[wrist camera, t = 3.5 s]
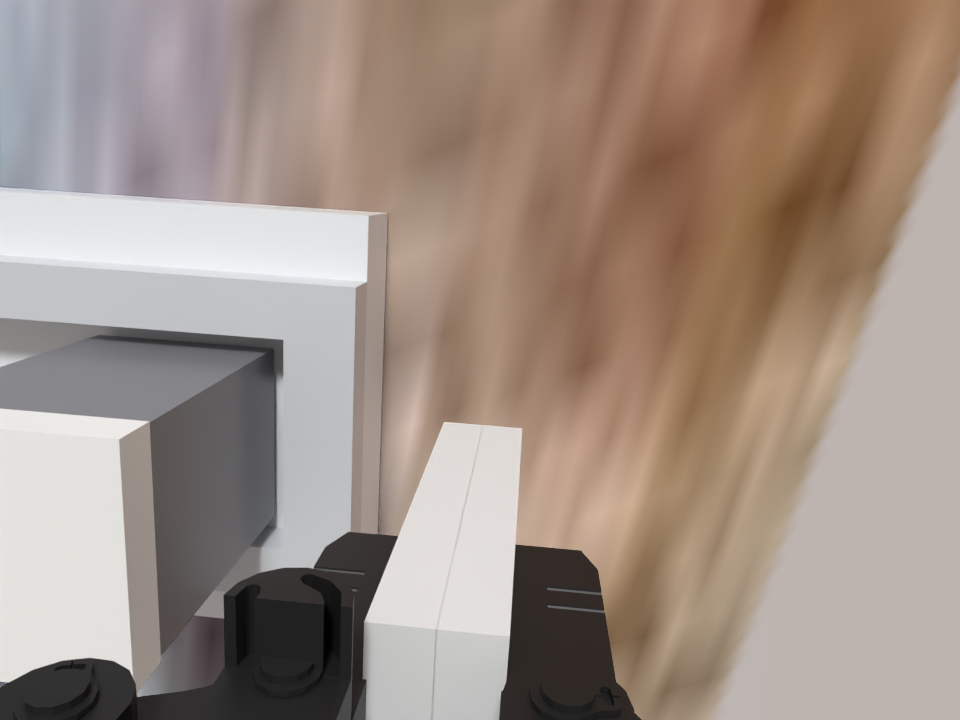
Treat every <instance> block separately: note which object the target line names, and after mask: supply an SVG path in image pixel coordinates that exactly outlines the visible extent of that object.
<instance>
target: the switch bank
mask: <svg viewBox="0 0 960 720" xmlns="http://www.w3.org/2000/svg"><path fill="white" fill-rule="evenodd" d="M387 221H388V213H379V212H364V211H349V210H334V209H319V208H304V207H289V206H274V205H259V204H244V203H229V202H214V201H198V200H183V199H168V198H153V197H138V196H123V195H108V194H93V193H78V192H63V191H48V190H33V189H18V188H3V187H0V367H2V366H5V365H8V364H11V363H14V362H17V361H20V360H23V359H26V358H29V357H32V356H35V355H38V354H42V353H45V352H48V351H51V350H54V349H57V348H60V347H63V346H66V345H69V344H72V343H75V342H78V341H81V340H85V339H88V338H91V337H94V336H97V335H108V336H121V337H133V338H146V339H159V340H172V341H184V342H197V343H210V344H222V345H235V346H248V347H261V348H273V349H274V497H275V516H274V517H273V518H272V519H271V521H270V522H269V523H268V524H267V525H266V527H265V528H264V529H263V530H262V532H261V533H260V534H259V535H258V537H257V538H256V539H255V540H254V542H253V543H252V544H251V545H250V546H249V548H248V549H247V550H246V551H245V553H244V554H243V555H242V556H241V558H240V559H239V560H238V561H237V563H236V564H235V565H234V566H233V567H232V569H231V570H230V571H229V572H228V574H227V575H226V576H225V577H224V579H223V580H222V581H221V582H220V584H219V585H218V586H217V587H216V588H215V590H214V591H213V592H212V593H211V595H210V596H209V597H208V598H207V600H206V601H205V602H204V603H203V604H202V606H201V607H200V608H199V609H198V611H197V612H196V613H195V614H194V616H204V617H213V618H223V619H224V597H223V595H224V594H225V593H226V592H227V591H229V590H230V589H231V588H232V587H233V586H234V585H236V584H237V583H238V582H240V581H242V580H244V579H246V578H249V577H251V576H253V575H256V574H258V573H261V572H265V571H270V570H275V569H280V568H313V569H314V565H315V564H316V562H317V560H318V558H319V557H320V555H321V553H322V552H323V550H324V548H325V547H326V546H327V545H329V544H331V543H332V542H334V541H335V540H337V539H338V538H340V537H341V536H343V535H344V534H346V533H347V532H357V533H368V534H378V509H379V477H380V445H381V413H382V381H383V349H384V317H385V285H386V253H387Z"/></svg>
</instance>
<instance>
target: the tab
mask: <svg viewBox="0 0 960 720" xmlns="http://www.w3.org/2000/svg"><path fill="white" fill-rule="evenodd" d="M274 516H275V497H274V349H273V348H261V347H248V346H235V345H222V344H210V343H197V342H184V341H172V340H159V339H146V338H133V337H121V336H108V335H97V336H94V337H91V338H88V339H85V340H81V341H78V342H75V343H72V344H69V345H66V346H63V347H60V348H57V349H54V350H51V351H48V352H45V353H42V354H38V355H35V356H32V357H29V358H26V359H23V360H20V361H17V362H14V363H11V364H8V365H5V366H2V367H0V682H8V683H9V682H11V681H13V680H15V679H17V678H18V677H20V676H22V675H24V674H26V673H28V672H30V671H32V670H34V669H37V668H40V667H44V666H47V665H50V664H53V663H56V662H60V661H64V660H72V659H73V660H74V659H83V658H96V659H103V660H110V661H114V662H116V663H118V664H120V665H121V666H123V667H125V668H127V669H128V670H130V672H131V675H132V677H133V679H134V681H135V683H136V693H137V692H138V691H139V690H140V688H141V687H142V686H143V685H144V683H145V682H146V681H147V680H148V678H149V677H150V676H151V675H152V673H153V672H154V671H155V670H156V668H157V667H158V666H159V665H160V663H161V655H162V654H163V653H164V651H165V650H166V649H167V648H168V646H169V645H170V644H171V643H172V642H173V640H174V639H175V638H176V637H177V635H178V634H179V633H180V632H181V630H182V629H183V628H184V627H185V625H186V624H187V623H188V622H189V621H190V619H191V618H192V617H193V616H194V614H195V613H196V612H197V611H198V609H199V608H200V607H201V606H202V604H203V603H204V602H205V601H206V600H207V598H208V597H209V596H210V595H211V593H212V592H213V591H214V590H215V588H216V587H217V586H218V585H219V584H220V582H221V581H222V580H223V579H224V577H225V576H226V575H227V574H228V572H229V571H230V570H231V569H232V567H233V566H234V565H235V564H236V563H237V561H238V560H239V559H240V558H241V556H242V555H243V554H244V553H245V551H246V550H247V549H248V548H249V546H250V545H251V544H252V543H253V542H254V540H255V539H256V538H257V537H258V535H259V534H260V533H261V532H262V530H263V529H264V528H265V527H266V525H267V524H268V523H269V522H270V521H271V519H272V518H273V517H274Z"/></svg>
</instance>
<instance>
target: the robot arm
mask: <svg viewBox="0 0 960 720" xmlns="http://www.w3.org/2000/svg"><path fill="white" fill-rule="evenodd" d="M521 441H522V428H510V427H498V426H486V425H474V424H462V423H450V422H444V424H443V426H442V429H441V431H440V434H439V436H438V439H437V441H436V444H435V446H434V449H433V451H432V454H431V456H430V459H429V461H428V464H427V466H426V469H425V471H424V474H423V476H422V479H421V481H420V484H419V486H418V489H417V491H416V494H415V496H414V499H413V501H412V504H411V506H410V509H409V511H408V514H407V516H406V519H405V521H404V524H403V526H402V529H401V531H400V534H399V536H389V535H379V534H368V533H357V532H347V533H346V534H344V535H343V536H341V537H340V538H338V539H337V540H335V541H334V542H332V543H331V544H329V545H327V546H326V547H325V548H324V550H323V552H322V553H321V555H320V557H319V558H318V560H317V562H316V564H315V565H314V569H313V568H280V569H275V570H270V571H265V572H261V573H258V574H256V575H253V576H251V577H249V578H246V579H244V580H242V581H240V582H238V583H237V584H236V585H234V586H233V587H232V588H231V589H230V590H229V591H227V592H226V593H225V594H224V595H223V597H224V637H225V668H224V669H223V671H222V672H221V674H220V675H219V677H218V678H217V680H216V681H215V683H214V684H213V685H210V686H207V687H204V688H199V689H194V690H188V691H183V692H175V693H167V694H159V695H150V696H142V697H137V695H136V683H135V681H134V679H133V677H132V675H131V672H130V670H128V669H127V668H125V667H123V666H121V665H120V664H118V663H116V662H114V661H110V660H103V659H96V658H83V659H74V660H73V659H72V660H64V661H60V662H56V663H53V664H50V665H47V666H44V667H40V668H37V669H34V670H32V671H30V672H28V673H26V674H24V675H22V676H20V677H18V678H17V679H15V680H13V681H11V682H9V683H7V684H5V685H4V686H2V687H1V688H0V720H641V719H640V718H639V717H638V716H637V715H636V714H635V713H634V708H633V706H632V704H631V702H630V700H629V698H628V695H627V693H626V691H625V690H624V689H623V688H622V687H621V686H620V685H619V684H618V683H617V682H616V679H615V673H614V666H613V660H612V654H611V648H610V642H609V636H608V630H607V623H606V617H605V613H604V605H603V599H602V595H601V587H600V580H599V574H598V570H597V568H596V567H595V566H594V565H593V564H592V563H591V562H590V561H589V559H588V558H587V557H586V556H585V555H584V554H583V553H582V551H578V550H567V549H556V548H546V547H535V546H524V545H515V542H516V525H517V508H518V491H519V474H520V458H521Z"/></svg>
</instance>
